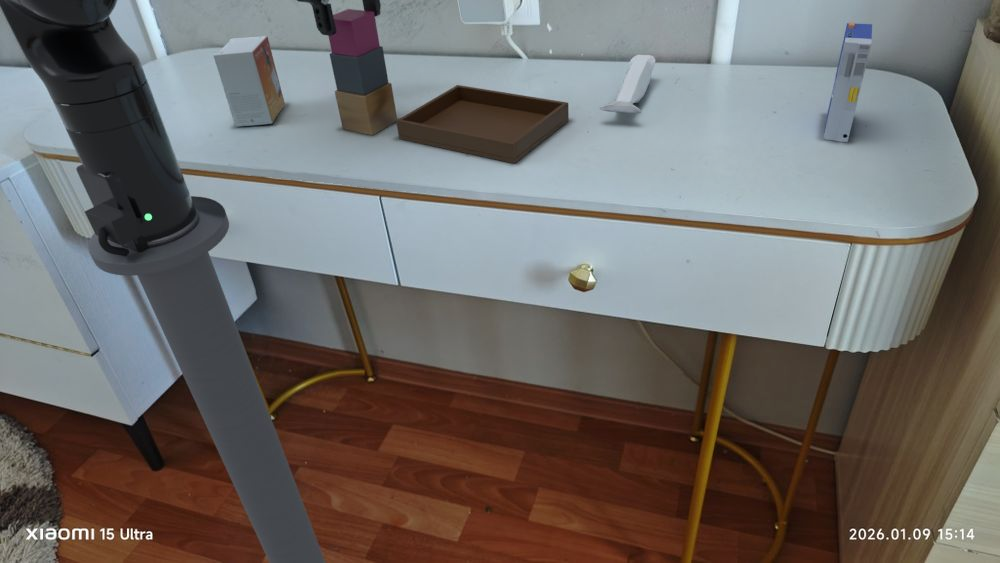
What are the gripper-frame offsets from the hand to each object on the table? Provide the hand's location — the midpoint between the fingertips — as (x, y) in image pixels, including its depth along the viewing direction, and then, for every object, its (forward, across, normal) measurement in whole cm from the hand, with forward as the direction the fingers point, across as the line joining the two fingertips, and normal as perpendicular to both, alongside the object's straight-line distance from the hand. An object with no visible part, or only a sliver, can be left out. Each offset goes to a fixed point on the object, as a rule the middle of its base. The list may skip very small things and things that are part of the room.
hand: (351, 24), depth 89 cm
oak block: (+14, 0, 0) cm, 14 cm away
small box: (+14, +4, -18) cm, 23 cm away
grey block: (+8, 0, 0) cm, 8 cm away
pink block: (+3, 0, 0) cm, 3 cm away
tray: (+14, -5, +16) cm, 22 cm away
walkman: (+14, -23, +57) cm, 63 cm away
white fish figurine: (+14, -22, +30) cm, 40 cm away
